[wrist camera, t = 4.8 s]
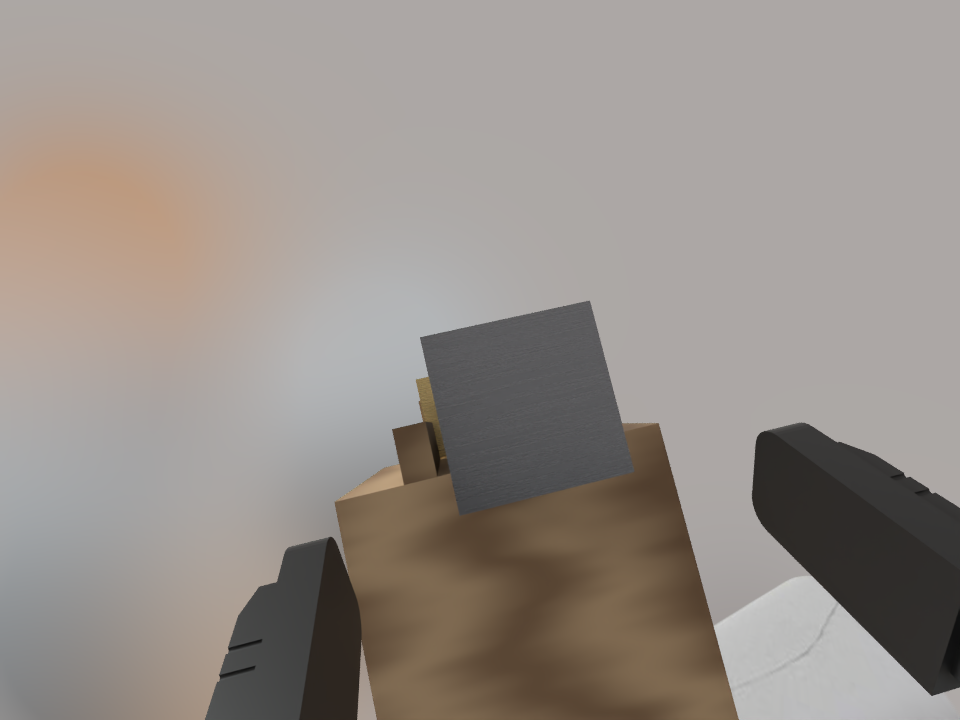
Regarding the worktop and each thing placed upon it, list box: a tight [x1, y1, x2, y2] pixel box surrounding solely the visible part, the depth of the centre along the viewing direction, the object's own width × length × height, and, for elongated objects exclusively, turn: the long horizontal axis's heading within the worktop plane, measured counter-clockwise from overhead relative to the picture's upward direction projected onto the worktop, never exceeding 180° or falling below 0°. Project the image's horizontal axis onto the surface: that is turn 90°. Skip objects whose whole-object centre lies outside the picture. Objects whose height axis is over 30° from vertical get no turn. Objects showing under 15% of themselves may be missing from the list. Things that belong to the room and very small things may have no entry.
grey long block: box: [416, 301, 635, 516], centre depth 20 cm, size 6×21×4 cm, turn 4°
